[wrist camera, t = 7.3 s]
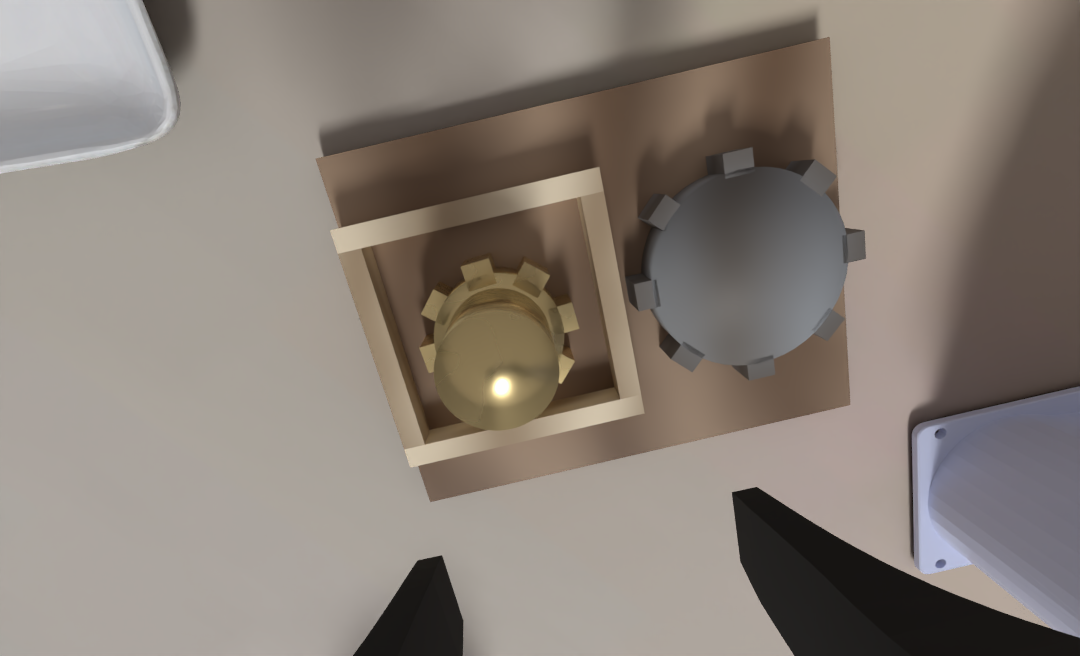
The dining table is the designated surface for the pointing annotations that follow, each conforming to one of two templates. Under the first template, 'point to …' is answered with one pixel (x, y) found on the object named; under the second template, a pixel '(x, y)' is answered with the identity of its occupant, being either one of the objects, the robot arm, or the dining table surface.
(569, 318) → the brass gear
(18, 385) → the dining table surface
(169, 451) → the dining table surface
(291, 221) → the dining table surface
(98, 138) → the salad plate
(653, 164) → the gear board
